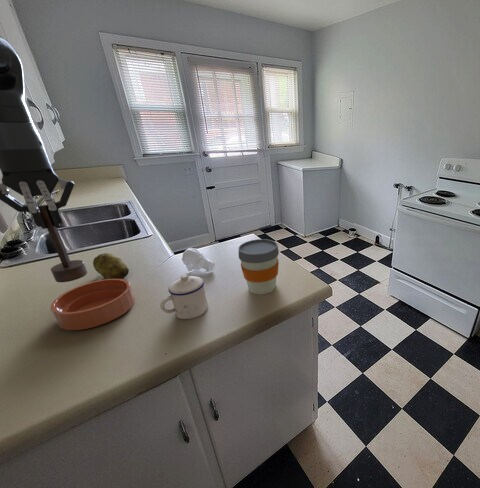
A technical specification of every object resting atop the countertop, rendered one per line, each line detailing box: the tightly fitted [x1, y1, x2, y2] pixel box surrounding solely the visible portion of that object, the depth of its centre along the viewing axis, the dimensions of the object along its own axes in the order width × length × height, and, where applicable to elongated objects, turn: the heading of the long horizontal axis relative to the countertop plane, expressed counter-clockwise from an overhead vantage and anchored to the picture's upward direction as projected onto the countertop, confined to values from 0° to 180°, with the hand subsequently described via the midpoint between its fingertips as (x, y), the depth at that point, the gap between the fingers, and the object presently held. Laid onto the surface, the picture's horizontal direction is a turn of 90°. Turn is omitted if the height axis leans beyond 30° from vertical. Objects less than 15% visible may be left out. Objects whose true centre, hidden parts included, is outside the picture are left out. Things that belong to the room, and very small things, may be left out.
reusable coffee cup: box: [238, 238, 280, 295], centre depth 88 cm, size 12×12×15 cm
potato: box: [92, 252, 130, 279], centre depth 96 cm, size 8×13×8 cm, turn 48°
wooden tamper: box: [37, 204, 88, 283], centre depth 63 cm, size 6×6×18 cm
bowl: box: [49, 278, 136, 331], centre depth 78 cm, size 18×18×6 cm
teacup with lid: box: [160, 274, 209, 320], centre depth 76 cm, size 12×9×12 cm
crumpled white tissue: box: [181, 247, 216, 273], centre depth 100 cm, size 6×8×12 cm
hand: (51, 226), depth 62 cm, fingers closed on wooden tamper, 1 cm apart
